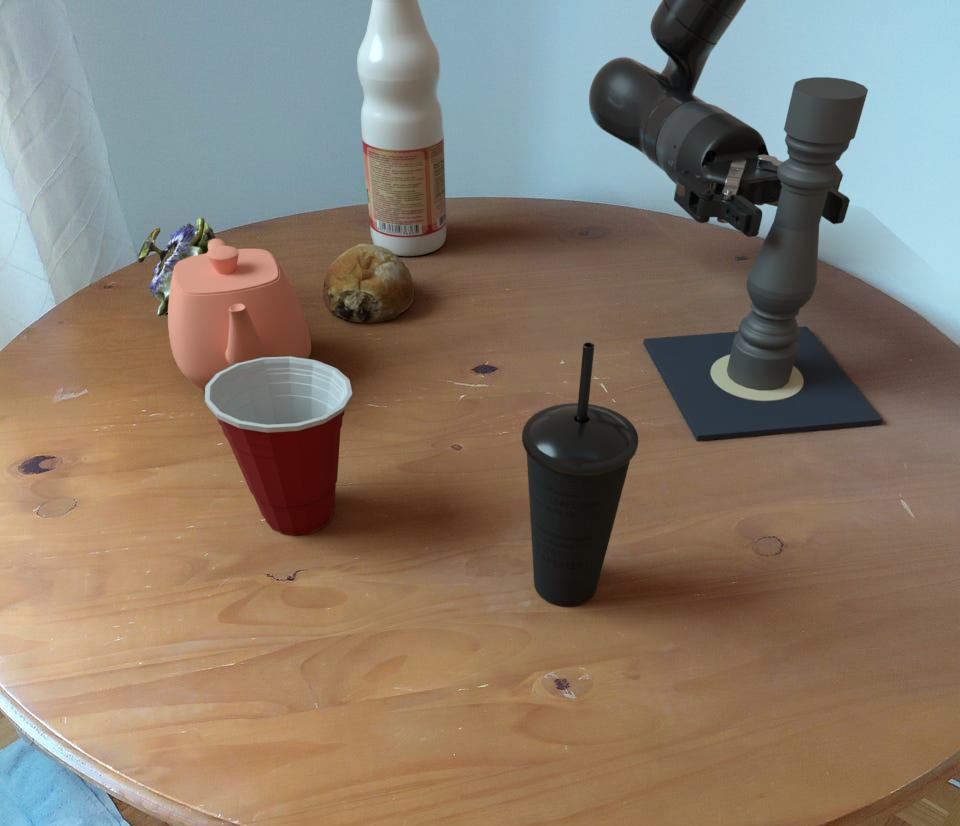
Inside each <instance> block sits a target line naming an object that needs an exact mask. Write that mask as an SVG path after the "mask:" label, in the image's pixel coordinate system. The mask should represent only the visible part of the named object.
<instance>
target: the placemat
mask: <svg viewBox="0 0 960 826" xmlns="http://www.w3.org/2000/svg"><path fill="white" fill-rule="evenodd" d="M799 328H800V335H799V338H798V340H797V343H798V345H799V348H798V351H797V355H796V358H795V362H794V365H793V369H792V373H791V376H790V379H789V383H788V384H786V385H785V386H784V387H782V388H779V389H775V390H754V389H749V388H745V387H743V386H741V385H739V384H736V383H735V382H734V381H733V380H731V379H730V378H729V376H728V374H727V367H728V362H729V358H730V353H731V349H732V344H733V340H734V338H735V335H736V334H737V333H739V332H740V331H739V330H738V331H729V332H715V333H714V332H713V333H704V334H703V333H702V334H689V335H676V336H663V337H651V338H649V337H648V338H643V346H644V348H645V350H646V351H647V353H648V355H649V357H650V358H651V361H652V362H653V365H654V366H655V368H656V370H657V371H658V374H659V375H660V377H661V379H662V380H663V382H664V385H665V386H666V388H667V390H668V392H669V393H670V395H671V397H672V399H673V400H674V402H675V404H676V406H677V408H678V409H679V412H680V413H681V416H682V417H683V418H684V421H685V422H686V424H687V426H688V428H689V430H690V432H691V433H692V435H693V437H694V438H695V441H696V442H700V441H711V440H712V441H713V440H723V439H724V440H725V439H735V438H744V437H745V438H746V437H755V436H767V435H779V434H790V433H800V432H813V431H822V430H823V431H824V430H835V429H845V428H856V427H857V428H858V427H866V426H879V425H882V423H883V420H884V419H883V417H882V416H881V415H880V414H879V413H878V411H877V410H876V409H875V408H874V406H873V405H872V404H871V403H870V401H869V400H868V399H867V398H866V397H865V396H864V394H863V393H862V391H861V390H859V388H858V387H857V386H856V384H855V383H854V382H853V381H852V379H850V377H849V375H848V374H847V373H845V371H844V369H842V367H841V366H840V365H839V363H837V361H836V360H835V359H834V357H832V355H831V353H829V351H828V350H827V349H826V348H825V346H824V345H823V344H822V343H821V342H820V340H819V339H818V338H817V337H816V336H815V334H814V333H813V332H812V331H811V330H810V328H809V327H808V326H799Z"/></svg>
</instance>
